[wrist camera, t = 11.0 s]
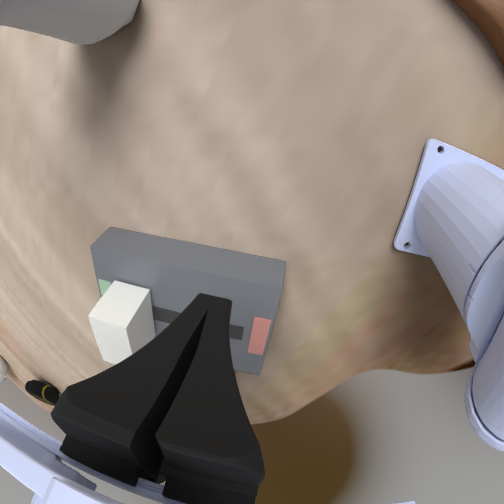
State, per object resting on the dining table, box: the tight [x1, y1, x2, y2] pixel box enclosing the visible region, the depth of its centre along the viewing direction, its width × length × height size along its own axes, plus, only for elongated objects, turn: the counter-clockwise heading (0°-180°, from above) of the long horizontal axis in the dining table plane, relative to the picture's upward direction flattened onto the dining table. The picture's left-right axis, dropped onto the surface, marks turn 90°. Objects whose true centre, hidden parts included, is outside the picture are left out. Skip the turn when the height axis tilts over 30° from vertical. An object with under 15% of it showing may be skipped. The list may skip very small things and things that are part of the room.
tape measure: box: [25, 380, 59, 406], centre depth 44 cm, size 7×7×4 cm
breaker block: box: [90, 227, 286, 375], centre depth 23 cm, size 14×10×3 cm
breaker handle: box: [88, 280, 155, 365], centre depth 20 cm, size 3×5×4 cm, turn 172°
